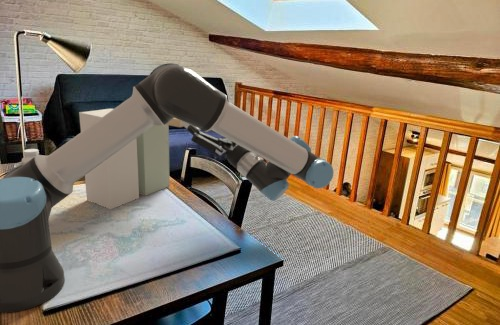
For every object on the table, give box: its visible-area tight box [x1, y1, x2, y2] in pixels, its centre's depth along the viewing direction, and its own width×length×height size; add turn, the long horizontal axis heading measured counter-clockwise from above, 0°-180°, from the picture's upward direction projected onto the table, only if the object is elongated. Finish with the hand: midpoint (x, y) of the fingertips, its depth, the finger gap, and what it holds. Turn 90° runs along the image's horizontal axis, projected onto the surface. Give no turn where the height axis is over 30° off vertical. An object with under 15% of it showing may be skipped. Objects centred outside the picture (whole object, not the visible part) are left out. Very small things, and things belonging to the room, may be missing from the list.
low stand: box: [137, 124, 171, 196], centre depth 133 cm, size 12×12×26 cm
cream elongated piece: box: [166, 118, 184, 128], centre depth 124 cm, size 20×8×6 cm, turn 58°
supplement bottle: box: [21, 148, 40, 165], centre depth 132 cm, size 7×7×13 cm
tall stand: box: [78, 108, 140, 210], centre depth 120 cm, size 12×12×30 cm
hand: (197, 116), depth 115 cm, fingers open, 13 cm apart
